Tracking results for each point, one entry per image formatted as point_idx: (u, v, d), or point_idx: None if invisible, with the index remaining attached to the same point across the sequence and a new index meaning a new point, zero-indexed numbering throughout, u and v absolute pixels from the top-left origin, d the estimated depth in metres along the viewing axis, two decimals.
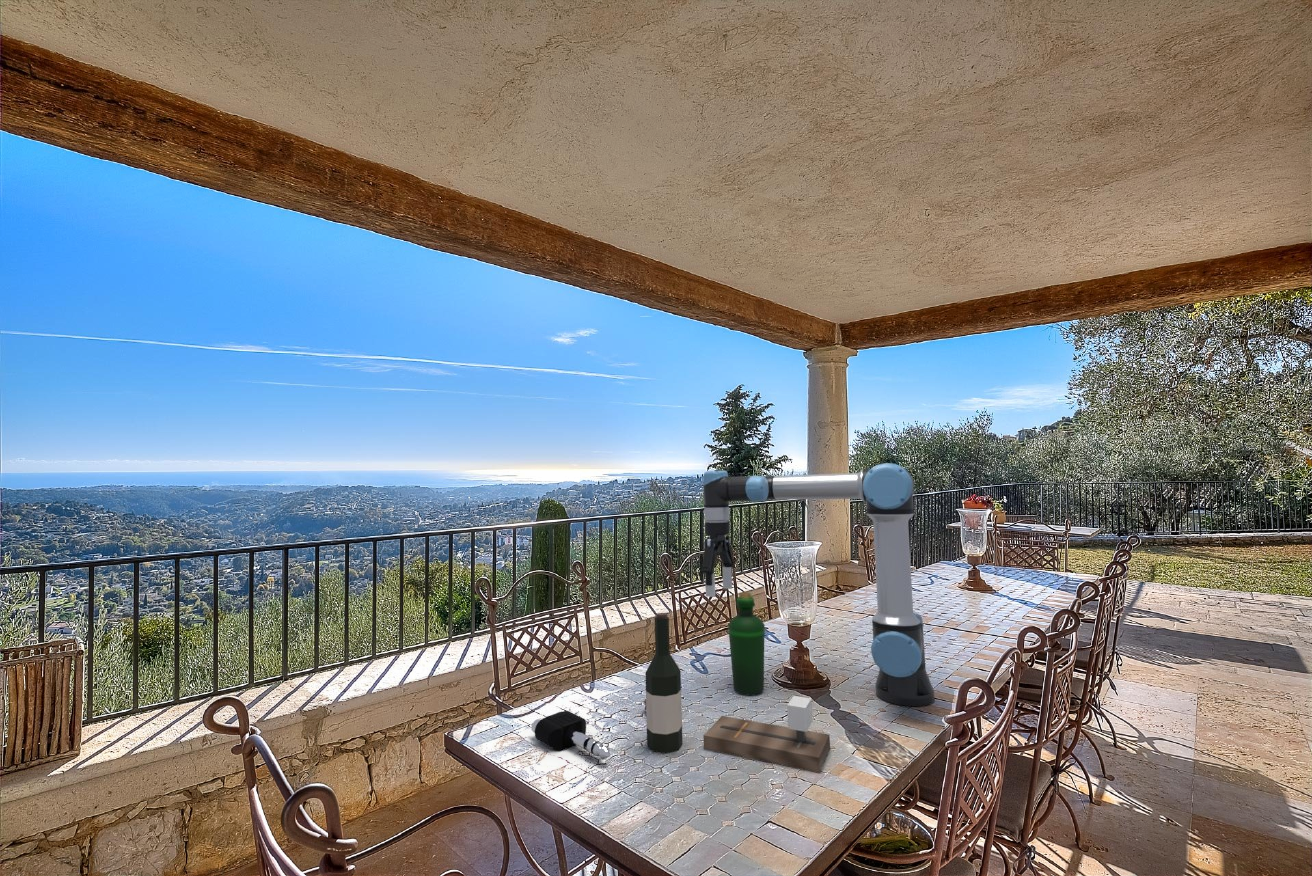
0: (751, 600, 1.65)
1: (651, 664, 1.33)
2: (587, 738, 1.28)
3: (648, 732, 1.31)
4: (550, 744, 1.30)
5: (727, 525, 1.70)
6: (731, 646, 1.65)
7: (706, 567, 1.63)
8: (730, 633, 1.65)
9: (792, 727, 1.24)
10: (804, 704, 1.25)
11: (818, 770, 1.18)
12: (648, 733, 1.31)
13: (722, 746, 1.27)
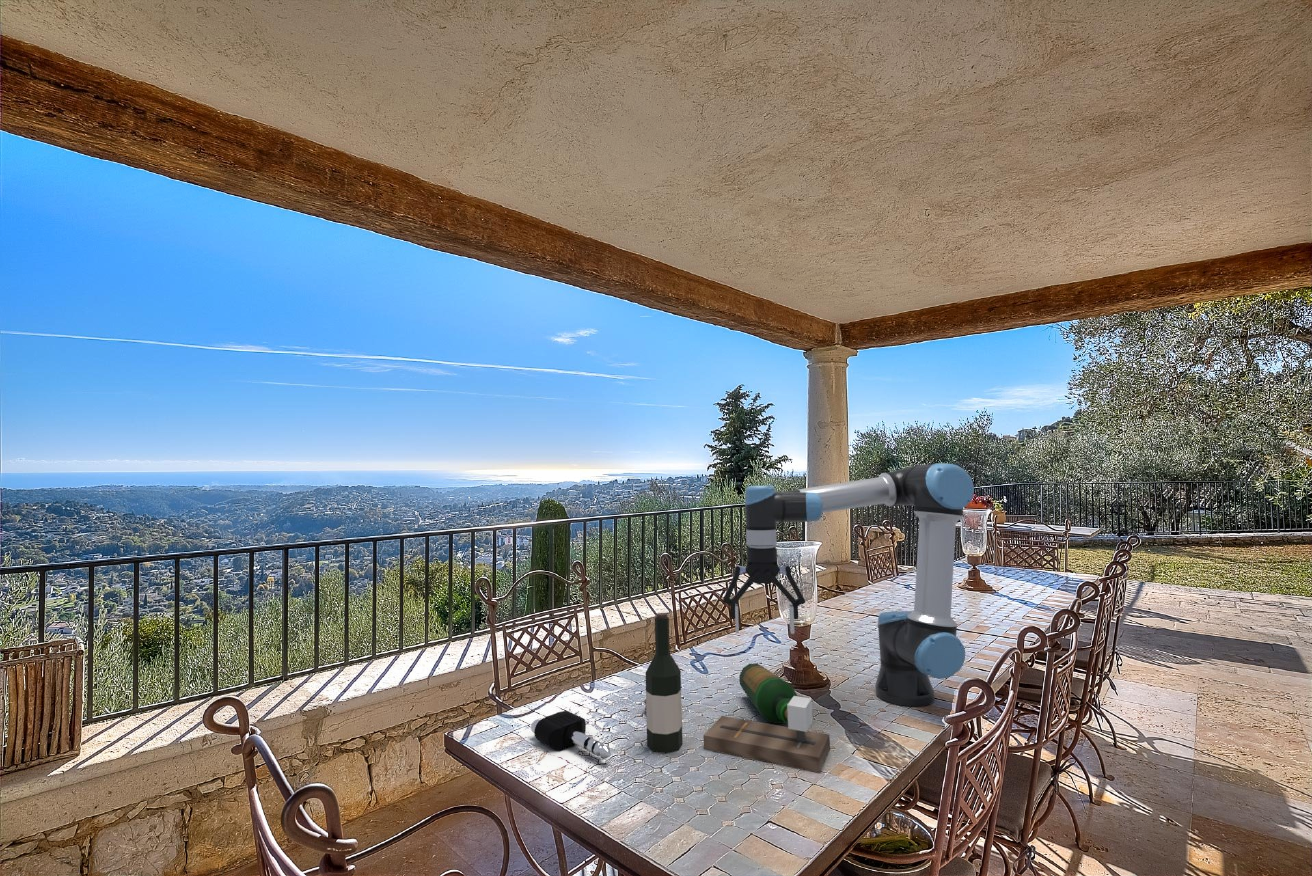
0: None
1: (651, 664, 1.33)
2: (587, 738, 1.28)
3: (648, 732, 1.31)
4: (550, 744, 1.30)
5: (760, 552, 1.40)
6: (752, 697, 1.48)
7: (725, 596, 1.43)
8: (756, 701, 1.44)
9: (792, 727, 1.24)
10: (804, 704, 1.25)
11: (818, 770, 1.18)
12: (648, 733, 1.31)
13: (722, 746, 1.27)
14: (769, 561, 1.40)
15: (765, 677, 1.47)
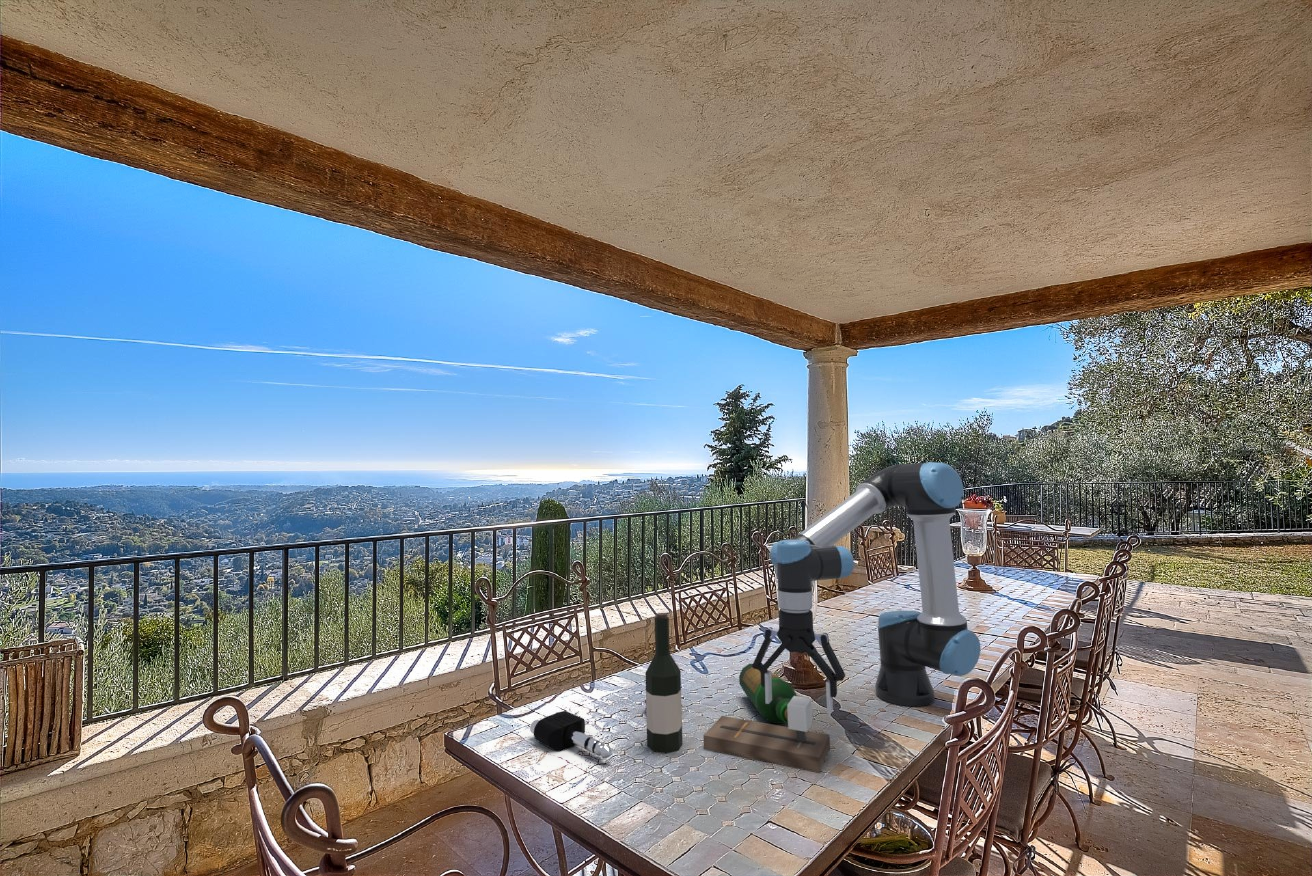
0: None
1: (651, 664, 1.33)
2: (588, 738, 1.28)
3: (648, 732, 1.31)
4: (550, 744, 1.30)
5: (788, 617, 1.25)
6: (751, 697, 1.48)
7: None
8: (755, 702, 1.44)
9: (792, 727, 1.24)
10: (804, 704, 1.25)
11: (818, 770, 1.18)
12: (648, 733, 1.31)
13: (722, 746, 1.27)
14: (799, 628, 1.24)
15: None
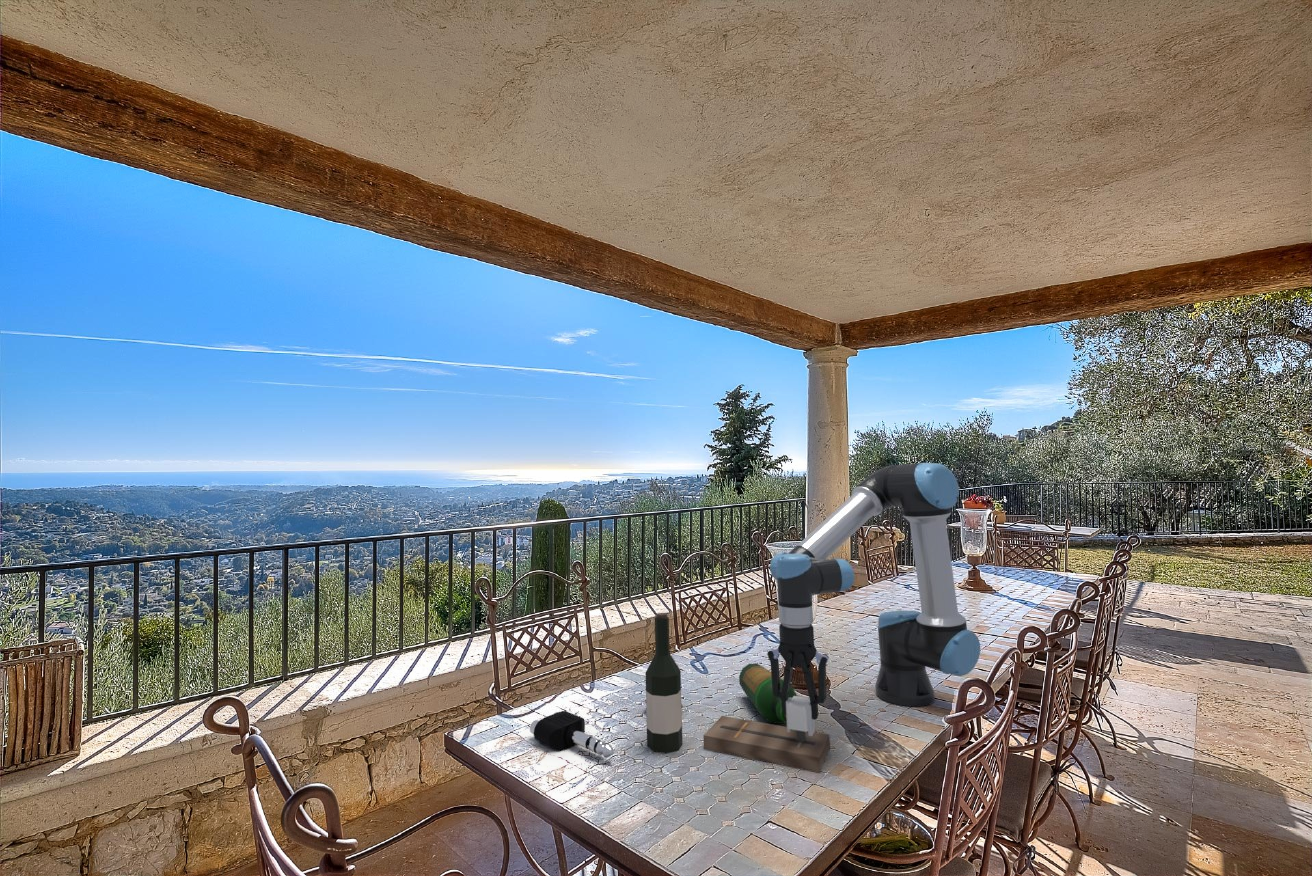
0: None
1: (651, 664, 1.33)
2: (589, 737, 1.29)
3: (648, 732, 1.31)
4: (551, 744, 1.30)
5: (789, 632, 1.25)
6: (751, 697, 1.48)
7: None
8: (755, 702, 1.44)
9: (792, 727, 1.24)
10: (804, 704, 1.25)
11: (818, 770, 1.18)
12: (648, 733, 1.31)
13: (722, 746, 1.27)
14: (800, 643, 1.24)
15: (765, 677, 1.47)
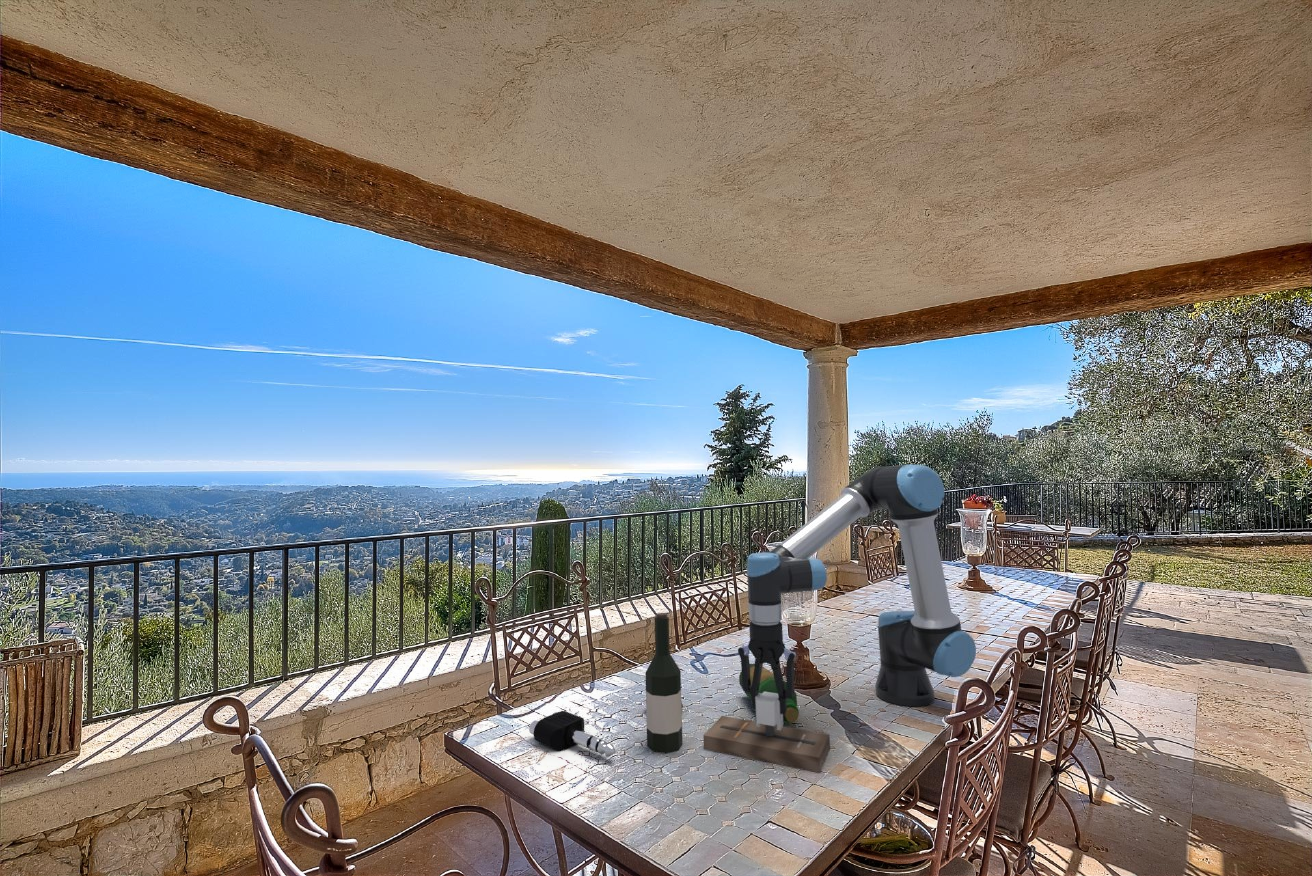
0: None
1: (651, 664, 1.33)
2: (590, 736, 1.29)
3: (648, 732, 1.31)
4: (551, 744, 1.30)
5: (758, 629, 1.28)
6: None
7: None
8: None
9: (761, 722, 1.27)
10: (773, 699, 1.28)
11: (818, 770, 1.18)
12: (648, 733, 1.31)
13: (722, 746, 1.27)
14: (768, 640, 1.27)
15: (765, 677, 1.47)
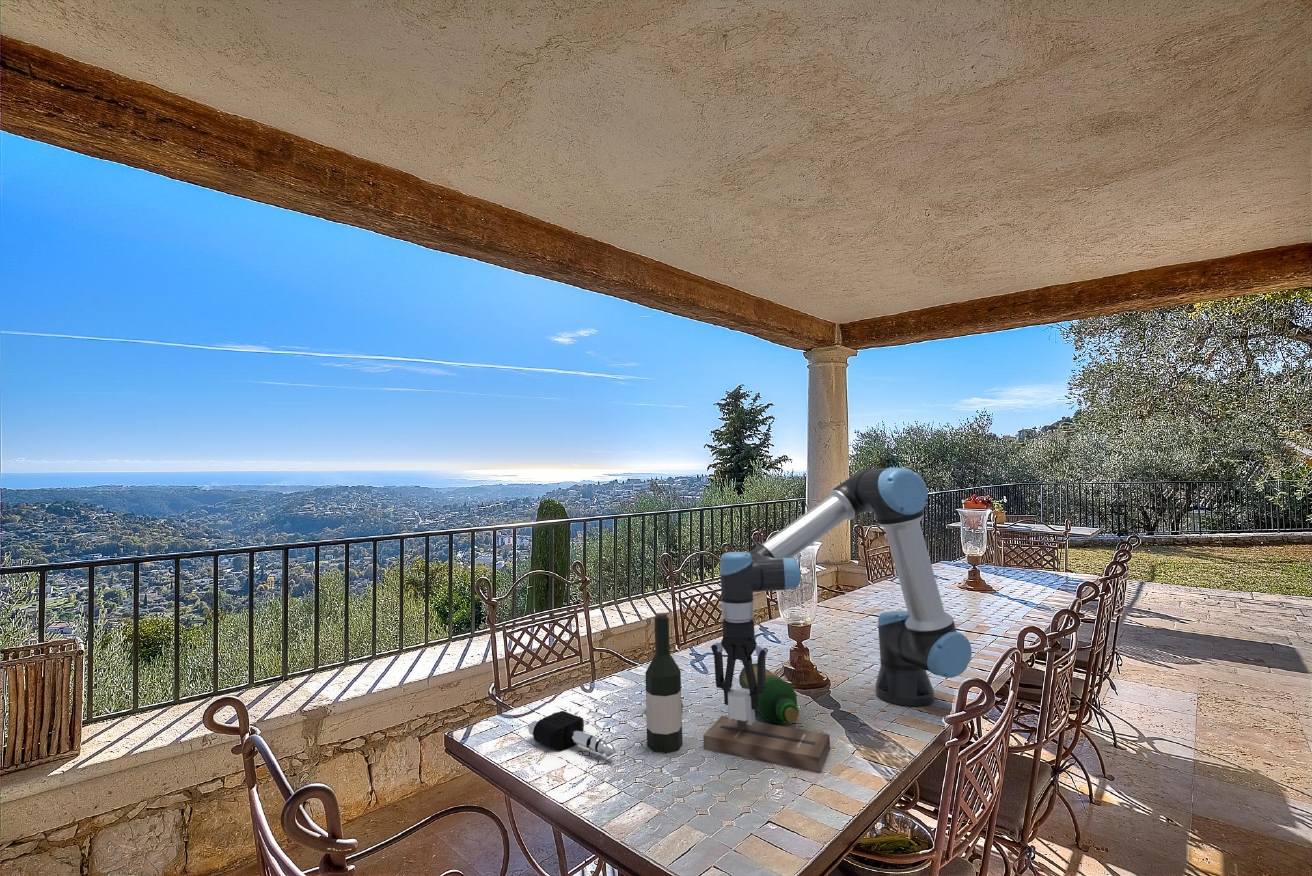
0: None
1: (651, 664, 1.33)
2: (590, 736, 1.29)
3: (648, 732, 1.31)
4: (551, 745, 1.30)
5: (730, 626, 1.31)
6: None
7: None
8: None
9: (732, 717, 1.30)
10: (745, 694, 1.31)
11: (818, 770, 1.18)
12: (648, 733, 1.31)
13: (722, 746, 1.27)
14: (740, 637, 1.30)
15: None
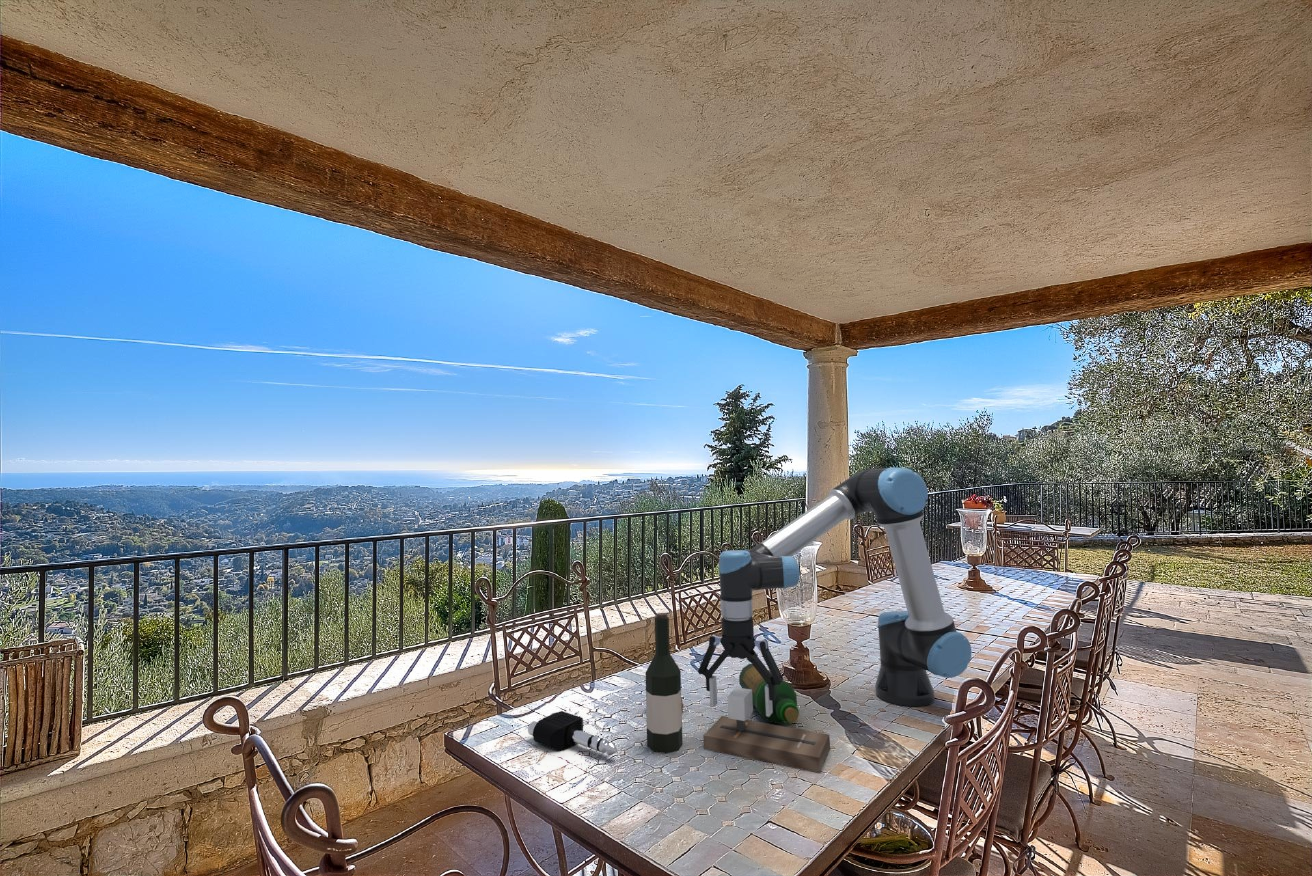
0: None
1: (651, 664, 1.33)
2: (591, 736, 1.29)
3: (648, 732, 1.31)
4: (552, 745, 1.30)
5: (729, 625, 1.31)
6: None
7: None
8: (755, 702, 1.44)
9: (731, 717, 1.30)
10: (744, 694, 1.31)
11: (818, 770, 1.18)
12: (648, 733, 1.31)
13: (722, 746, 1.27)
14: (739, 635, 1.30)
15: None
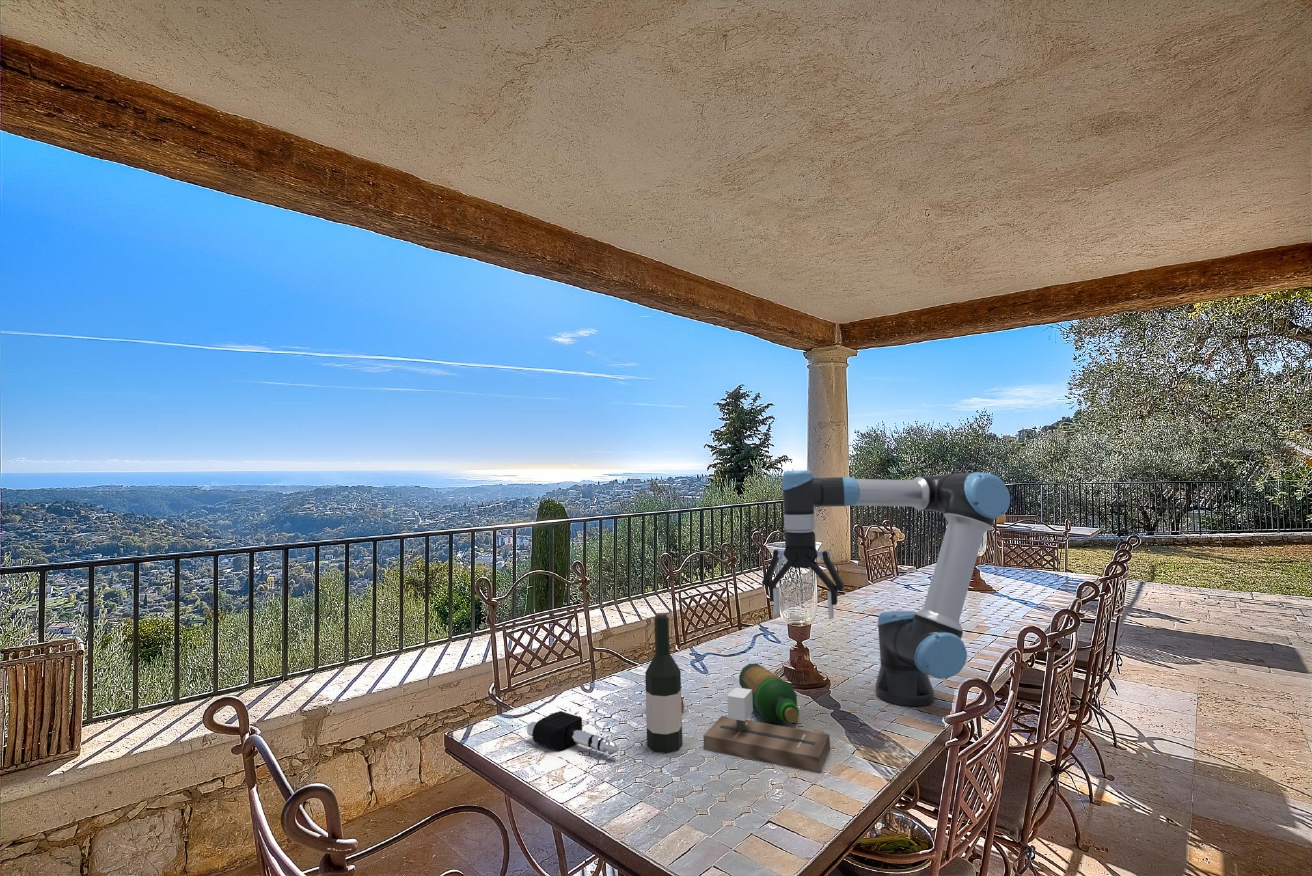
0: None
1: (651, 664, 1.33)
2: (591, 735, 1.29)
3: (648, 732, 1.31)
4: (552, 745, 1.30)
5: (794, 536, 1.41)
6: None
7: None
8: (755, 702, 1.44)
9: (731, 717, 1.30)
10: (744, 694, 1.31)
11: (818, 770, 1.18)
12: (648, 733, 1.31)
13: (722, 746, 1.27)
14: (803, 545, 1.40)
15: (765, 677, 1.47)
